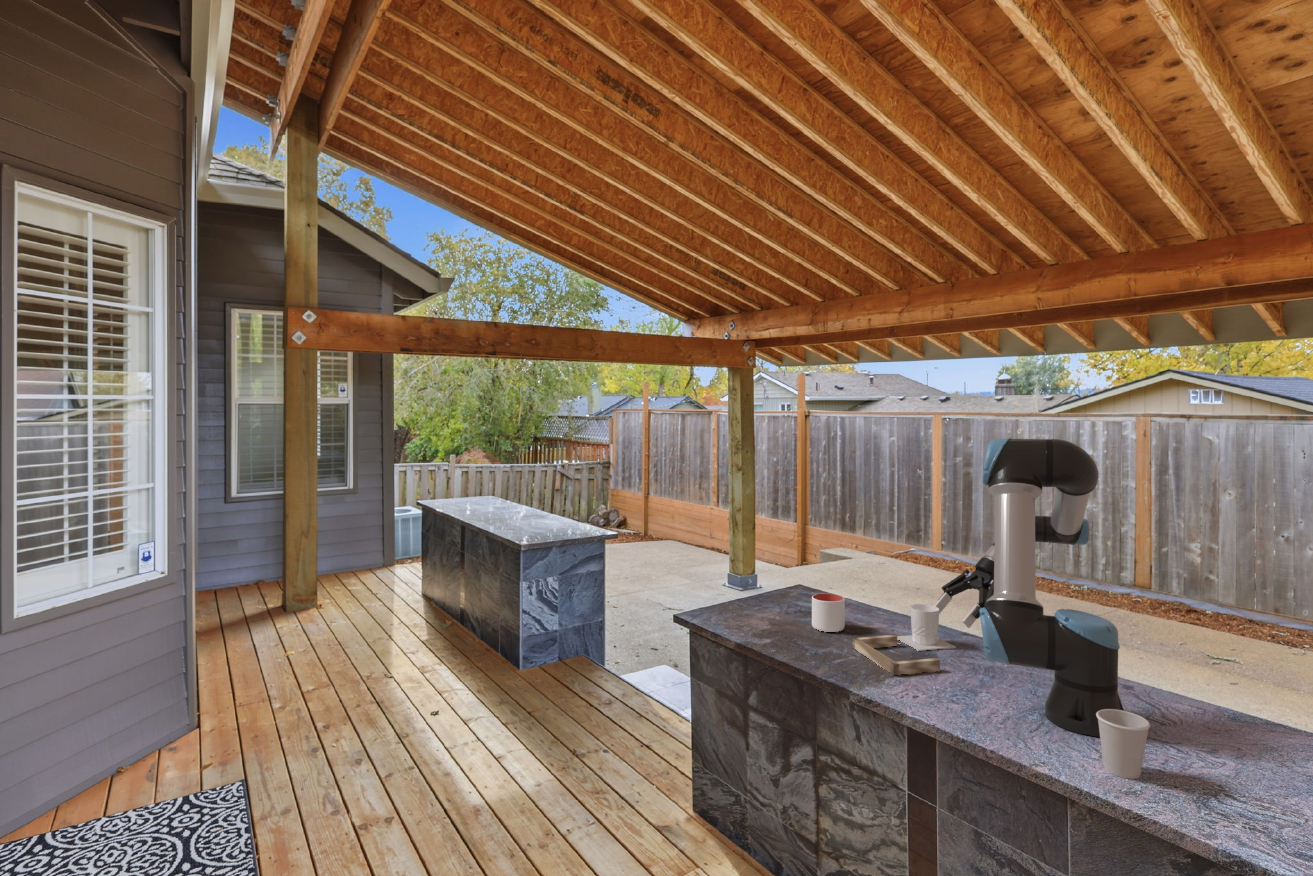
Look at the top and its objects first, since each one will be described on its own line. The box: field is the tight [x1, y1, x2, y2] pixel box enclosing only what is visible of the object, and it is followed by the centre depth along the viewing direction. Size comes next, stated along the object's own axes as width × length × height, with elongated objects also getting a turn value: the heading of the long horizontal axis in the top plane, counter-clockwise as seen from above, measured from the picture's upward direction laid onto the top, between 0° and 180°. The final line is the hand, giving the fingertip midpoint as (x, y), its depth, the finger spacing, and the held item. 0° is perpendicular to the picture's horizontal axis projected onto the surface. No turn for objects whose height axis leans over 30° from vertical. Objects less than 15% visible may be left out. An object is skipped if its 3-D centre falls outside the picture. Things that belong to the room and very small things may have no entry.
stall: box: [851, 634, 941, 676], centre depth 185 cm, size 14×21×3 cm, turn 13°
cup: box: [811, 592, 846, 633], centre depth 212 cm, size 10×10×10 cm
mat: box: [896, 634, 956, 652], centre depth 199 cm, size 12×12×1 cm
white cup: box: [910, 603, 940, 645], centre depth 198 cm, size 8×8×10 cm
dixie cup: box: [1096, 709, 1151, 780], centre depth 127 cm, size 8×8×10 cm
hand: (949, 618), depth 200 cm, fingers open, 13 cm apart
